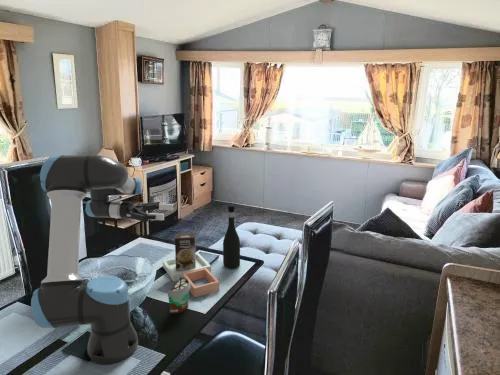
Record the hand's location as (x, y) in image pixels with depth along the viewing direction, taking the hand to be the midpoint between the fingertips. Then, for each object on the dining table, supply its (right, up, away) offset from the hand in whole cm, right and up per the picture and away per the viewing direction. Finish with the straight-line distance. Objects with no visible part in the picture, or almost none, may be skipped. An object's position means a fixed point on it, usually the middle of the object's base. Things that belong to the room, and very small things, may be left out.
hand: (168, 211), depth 159 cm
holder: (+15, -31, -6) cm, 35 cm away
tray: (+6, -27, +9) cm, 29 cm away
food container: (+10, -35, -21) cm, 43 cm away
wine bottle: (+27, -27, +13) cm, 40 cm away
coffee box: (+6, -27, +8) cm, 29 cm away
